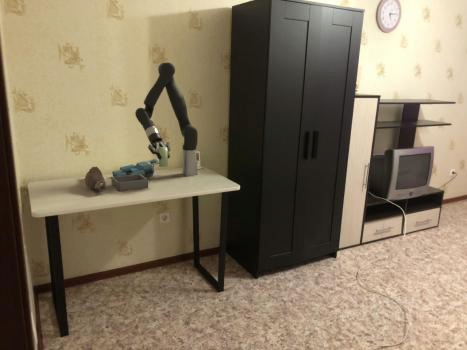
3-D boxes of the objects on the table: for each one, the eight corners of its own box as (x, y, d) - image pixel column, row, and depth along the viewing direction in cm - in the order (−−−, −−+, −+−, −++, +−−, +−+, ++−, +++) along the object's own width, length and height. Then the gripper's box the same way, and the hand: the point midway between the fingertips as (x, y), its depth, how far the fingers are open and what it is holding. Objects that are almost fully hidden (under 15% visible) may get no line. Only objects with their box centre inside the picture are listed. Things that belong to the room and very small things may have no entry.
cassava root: (88, 199, 202) (107, 197, 207) (87, 180, 199) (107, 179, 203) (81, 175, 236) (97, 174, 241) (80, 158, 233) (97, 158, 237)
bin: (140, 181, 233) (139, 174, 232) (148, 187, 221) (147, 179, 220) (112, 185, 224) (111, 177, 223) (118, 191, 212) (118, 183, 211)
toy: (108, 165, 245) (151, 155, 260) (111, 178, 248) (153, 167, 263) (119, 173, 227) (164, 161, 243) (122, 187, 230) (166, 174, 246)
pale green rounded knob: (165, 164, 227) (165, 146, 224) (169, 166, 223) (168, 148, 220) (157, 165, 225) (157, 147, 222) (161, 167, 220) (160, 148, 217)
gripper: (145, 132, 219) (156, 156, 214) (166, 130, 229) (177, 153, 223) (141, 140, 225) (152, 163, 219) (161, 138, 234) (172, 160, 228)
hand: (164, 158), depth 221 cm, fingers closed on pale green rounded knob, 5 cm apart
